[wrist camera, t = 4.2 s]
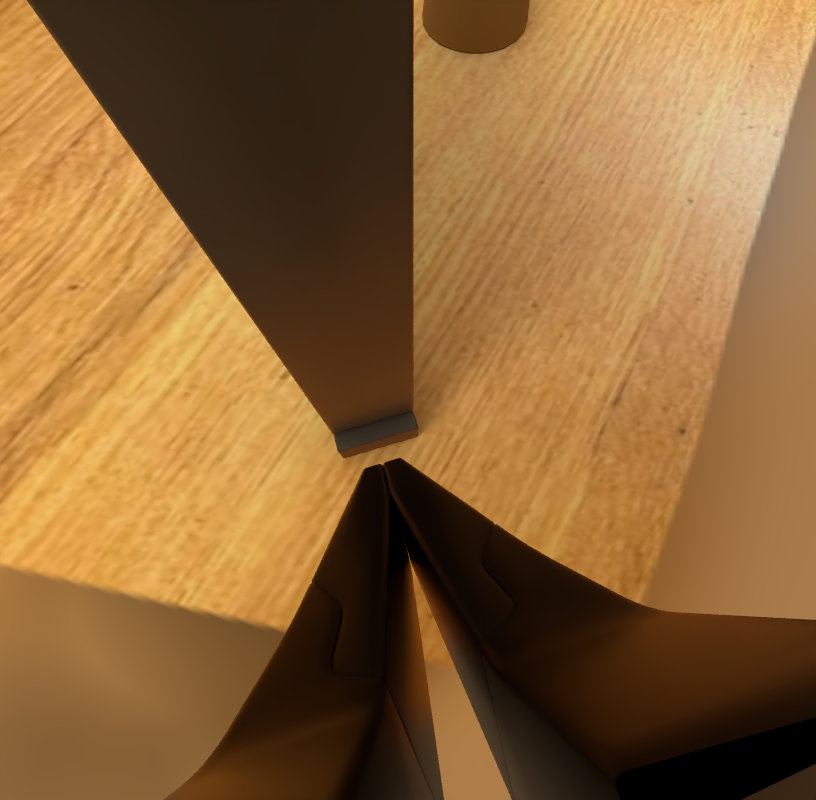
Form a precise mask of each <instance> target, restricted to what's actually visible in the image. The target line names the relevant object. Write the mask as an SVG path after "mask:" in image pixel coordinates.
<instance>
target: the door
mask: <svg viewBox="0 0 816 800" xmlns="http://www.w3.org/2000/svg"><path fill="white" fill-rule="evenodd" d="M27 1H28V3H29V4H30V5H31V7H32V8H33V10H34V11H35V12H36V14H37V15H38V17H39V18H40V20H41V21H42V22H43V24H44V25H45V27H46V28H47V29H48V31H49V32H50V34H51V35H52V37H53V38H54V39H55V41H56V42H57V44H58V45H59V46H60V48H61V49H62V51H63V52H64V54H65V55H66V56H67V58H68V59H69V61H70V62H71V63H72V65H73V66H74V68H75V69H76V71H77V72H78V73H79V75H80V76H81V78H82V79H83V80H84V82H85V83H86V85H87V86H88V88H89V89H90V90H91V92H92V93H93V95H94V96H95V97H96V99H97V100H98V102H99V103H100V105H101V106H102V107H103V109H104V110H105V112H106V113H107V114H108V116H109V117H110V119H111V120H112V122H113V123H114V124H115V126H116V127H117V129H118V130H119V131H120V133H121V134H122V136H123V137H124V139H125V140H126V141H127V143H128V144H129V146H130V147H131V148H132V150H133V151H134V153H135V154H136V156H137V157H138V158H139V160H140V161H141V163H142V164H143V165H144V167H145V168H146V170H147V171H148V173H149V174H150V175H151V177H152V178H153V180H154V181H155V182H156V184H157V185H158V187H159V188H160V190H161V191H162V192H163V194H164V195H165V197H166V198H167V200H168V201H169V202H170V204H171V205H172V207H173V208H174V209H175V211H176V212H177V214H178V215H179V217H180V218H181V219H182V221H183V222H184V224H185V225H186V226H187V228H188V229H189V231H190V232H191V234H192V235H193V236H194V238H195V239H196V241H197V242H198V243H199V245H200V246H201V248H202V249H203V251H204V252H205V253H206V255H207V256H208V258H209V259H210V260H211V262H212V263H213V265H214V266H215V268H216V269H217V270H218V272H219V273H220V275H221V276H222V277H223V279H224V280H225V282H226V283H227V285H228V286H229V287H230V289H231V290H232V292H233V293H234V294H235V296H236V297H237V299H238V300H239V302H240V303H241V304H242V306H243V307H244V309H245V310H246V311H247V313H248V314H249V316H250V317H251V319H252V320H253V321H254V323H255V324H256V326H257V327H258V328H259V330H260V331H261V333H262V334H263V336H264V337H265V338H266V340H267V341H268V343H269V344H270V345H271V347H272V348H273V350H274V351H275V353H276V354H277V355H278V357H279V358H280V360H281V361H282V362H283V364H284V365H285V367H286V368H287V370H288V371H289V372H290V374H291V375H292V377H293V378H294V379H295V381H296V382H297V384H298V385H299V387H300V388H301V389H302V391H303V392H304V394H305V395H306V396H307V398H308V399H309V401H310V402H311V404H312V405H313V406H314V408H315V409H316V411H317V412H318V413H319V415H320V416H321V418H322V419H323V421H324V422H325V423H326V425H327V426H328V428H329V429H330V430H331V432H332V433H337V432H341V431H344V430H347V429H351V428H354V427H358V426H361V425H364V424H368V423H371V422H375V421H378V420H382V419H385V418H388V417H392V416H395V415H399V414H402V413H406V412H409V411H412V410H413V165H414V0H27Z"/></svg>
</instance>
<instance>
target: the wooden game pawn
mask: <svg viewBox="0 0 816 800" xmlns="http://www.w3.org/2000/svg"><path fill="white" fill-rule="evenodd" d="M528 9H529V0H424V6H423V14H422V15H423V25H424V27H425V29H426V30H427V32H428V34H429V35H430V36H431V37H432V38H433V39H435V40H436V41H437V42H438V43H440V44H442V45H444V46H446V47H449V48H451V49H453V50H458V51H463V52H469V53H479V52H491V51H494V50H498V49H502V48H504V47H506V46H508V45H510V44H511V43H513V42H515V41H516V40H517V39H518V38H519V37H520V36H521V34H522V33H523V32H524V30H525V27H526V23H527V18H528Z"/></svg>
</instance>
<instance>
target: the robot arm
mask: <svg viewBox="0 0 816 800" xmlns="http://www.w3.org/2000/svg"><path fill="white" fill-rule="evenodd" d="M383 467H384V468H383ZM405 544H406V545H405ZM407 551H408V552H407ZM408 554H409V556H408ZM409 557H410V560H409ZM410 561H411V563H412V566H413V569H414V571H415V574H416V576H417V578H418V581H419V583H420V585H421V588H422V590H423V592H424V595H425V597H426V599H427V602H428V604H429V606H430V609H431V611H432V613H433V616H434V618H435V620H436V623H437V625H438V627H439V630H440V632H441V634H442V637H443V639H444V641H445V644H446V646H447V648H448V651H449V653H450V656H451V658H452V660H453V663H454V665H455V667H456V670H457V672H458V674H459V677H460V679H461V681H462V684H463V686H464V688H465V691H466V693H467V695H468V698H469V700H470V702H471V705H472V707H473V709H474V712H475V714H476V716H477V719H478V721H479V723H480V726H481V728H482V730H483V733H484V735H485V738H486V740H487V742H488V745H489V747H490V749H491V751H492V754H493V756H494V758H495V761H496V763H497V766H498V768H499V770H500V773H501V775H502V777H503V780H504V782H505V784H506V787H507V789H508V791H509V794H510V796H511V798H512V800H816V620H805V619H785V618H767V617H748V616H731V615H713V614H695V613H676V612H666V611H661V610H657V609H653V608H650V607H647V606H644V605H641V604H639V603H636V602H634V601H631V600H629V599H627V598H625V597H623V596H621V595H619V594H617V593H615V592H613V591H611V590H609V589H608V588H606V587H604V586H602V585H600V584H598V583H596V582H594V581H592V580H591V579H589V578H587V577H585V576H583V575H581V574H579V573H577V572H575V571H573V570H572V569H570V568H568V567H566V566H564V565H562V564H560V563H558V562H556V561H555V560H553V559H551V558H549V557H547V556H546V555H544V554H542V553H540V552H539V551H537V550H535V549H533V548H532V547H530V546H528V545H527V544H525V543H524V542H522V541H520V540H519V539H517V538H516V537H514V536H513V535H511V534H510V533H508V532H507V531H505V530H504V529H502V528H501V527H500V526H498V525H497V524H494V523H493V522H492V521H491V520H489V519H488V518H486V517H485V516H484V515H482V514H481V513H479V512H478V511H476V510H475V509H474V508H472V507H471V506H469V505H468V504H466V503H465V502H463V501H462V500H461V499H459V498H458V497H456V496H455V495H453V494H452V493H451V492H449V491H448V490H446V489H445V488H443V487H442V486H440V485H439V484H438V483H436V482H435V481H433V480H432V479H430V478H429V477H428V476H426V475H425V474H423V473H422V472H420V471H419V470H417V469H416V468H415V467H413V466H412V465H410V464H409V463H407V462H406V461H405V460H403V459H401V458H398V459H394V460H391V461H388V462H385V463H384V465H381V464H378V465H375V466H371V467H368V468H365V469H364V470H363V472H362V474H361V476H360V478H359V480H358V482H357V485H356V487H355V489H354V491H353V493H352V495H351V498H350V500H349V502H348V504H347V506H346V508H345V510H344V513H343V515H342V517H341V519H340V521H339V523H338V526H337V528H336V530H335V532H334V534H333V536H332V538H331V541H330V543H329V545H328V547H327V549H326V551H325V554H324V556H323V558H322V560H321V562H320V564H319V566H318V569H317V571H316V573H315V575H314V577H313V579H312V583H311V584H310V585H309V588H308V590H307V592H306V594H305V596H304V598H303V600H302V602H301V604H300V606H299V608H298V610H297V612H296V614H295V616H294V618H293V620H292V622H291V624H290V626H289V628H288V630H287V632H286V633H285V635H284V637H283V639H282V640H281V642H280V644H279V646H278V647H277V649H276V651H275V653H274V654H273V656H272V658H271V659H270V661H269V663H268V664H267V666H266V668H265V669H264V671H263V673H262V674H261V676H260V678H259V679H258V681H257V683H256V684H255V686H254V688H253V689H252V691H251V693H250V694H249V696H248V698H247V699H246V701H245V703H244V704H243V706H242V708H241V709H240V711H239V713H238V714H237V716H236V718H235V719H234V721H233V723H232V724H231V726H230V728H229V729H228V731H227V732H226V734H225V735H224V737H223V739H222V740H221V742H220V743H219V745H218V746H217V747H216V749H215V750H214V751H213V753H212V754H211V756H210V757H209V758H208V759H207V761H206V762H205V763H204V764H203V765H202V766H201V768H200V769H199V770H198V771H197V772H196V773H195V774H194V775H193V776H192V777H191V778H190V779H189V780H188V781H187V782H185V783H184V784H183V785H182V786H181V787H179V788H178V789H177V790H176V791H174V792H173V793H172V794H170V795H169V796H168V797H167V798H165V799H164V800H444V797H443V790H442V783H441V776H440V770H439V763H438V755H437V747H436V740H435V733H434V726H433V719H432V713H431V705H430V698H429V691H428V684H427V677H426V669H425V662H424V655H423V648H422V641H421V634H420V627H419V620H418V613H417V606H416V599H415V591H414V584H413V577H412V571H411V565H410Z"/></svg>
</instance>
